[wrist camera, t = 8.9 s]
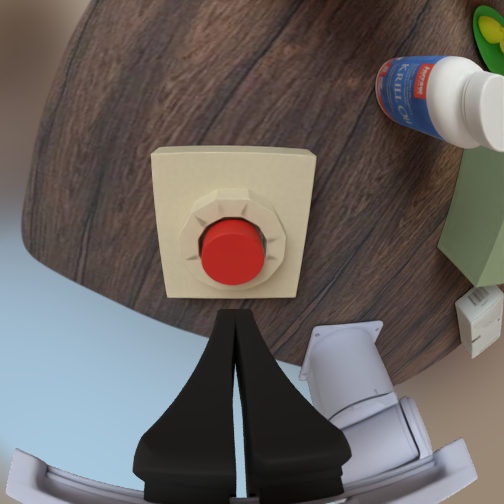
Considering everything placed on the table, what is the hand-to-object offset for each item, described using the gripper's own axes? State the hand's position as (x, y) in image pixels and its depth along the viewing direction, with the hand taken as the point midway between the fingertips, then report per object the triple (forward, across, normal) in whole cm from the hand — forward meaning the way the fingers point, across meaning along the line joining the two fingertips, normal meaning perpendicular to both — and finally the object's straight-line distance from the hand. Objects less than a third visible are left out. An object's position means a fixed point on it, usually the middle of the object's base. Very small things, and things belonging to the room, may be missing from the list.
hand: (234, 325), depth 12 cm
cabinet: (+10, -24, -5) cm, 27 cm away
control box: (+10, 0, 0) cm, 10 cm away
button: (+7, 0, 0) cm, 7 cm away
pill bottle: (+11, -12, -11) cm, 19 cm away
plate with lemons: (+11, -23, -20) cm, 32 cm away
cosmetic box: (+8, -29, +8) cm, 31 cm away
